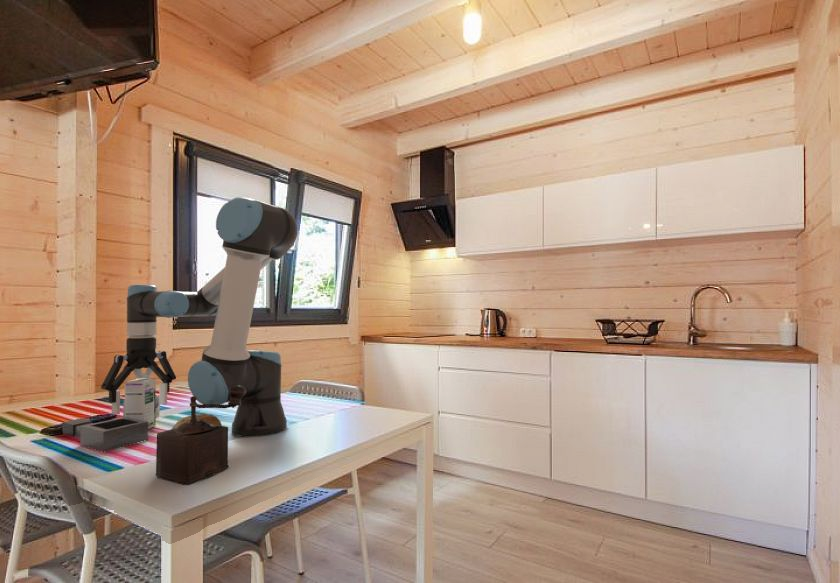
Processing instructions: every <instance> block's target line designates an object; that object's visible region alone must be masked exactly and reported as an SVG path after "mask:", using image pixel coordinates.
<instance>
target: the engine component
mask: <svg viewBox="0 0 840 583" xmlns="http://www.w3.org/2000/svg"><path fill="white" fill-rule="evenodd" d="M142 369H143V368H141V369H135V370H134V371H132V373H133V374H134V376H135V377H136V379H140V378H151V376H152V375H153V374H154V372H153V371H152V370H151V369H150V368H149V367H148V368H146V370H145V372H144V373H143V370H142ZM122 404H123V405H122V409H123V410H122V414H123V415H122V417H125V399H124V400H123V403H122ZM160 405H161V404H159V395H158V394H156V419H158V418H159V417H160V411H161V410H160V409H161V408H160V407H161V406H160ZM157 417H158V418H157Z"/></svg>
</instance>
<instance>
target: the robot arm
mask: <svg viewBox="0 0 840 583" xmlns="http://www.w3.org/2000/svg"><path fill="white" fill-rule="evenodd" d="M215 228H216V232H217V234H218V237H219V238H220V239H222V240H223V242H222V246H221V247H222V249H223V250H224V252H225V254H226V261H225V266H224V267H223V268H222V269H221V270H220V271H219V272H218V273H216V274H215V275H214V277H212V278H211V279H210V280H209V281H208V282H207V283H206V284H205V285H203V286H202V287H201V288H200V289H199V290H198V291H177V290H166V291H165V290H163V291H161V290H160V291H159V290H158V287H157V285H153V284H131V285H128V288H127V296H126V336H127V338H126V348H125V349H126V354H125V355H122V354H121V355H120V354H115V356H114V358H113V363H112V365H111V367H110V369H109V371H108V373H107V375H106V376H105V379H104V380H103V382H102V384H101V386H100V388H101V390H105V391H108V402H109V403H111V414H113V415H120V412H121V390H119V388H120V387H121V386H122V384H123V383H125V382H126V379H127V378H128V377H129V376H130V374H131V373H133V371H134V370H135V369H147V368H148V367H149V368H150V369H151V370H152V371H153V374H154V375H156V376H157V377H158V379H160V380H161V382H159V404H160V405H162V406H163V405H164V406H166V405H168V393H170V385H171V383H172V382H173V381H174V380H176V379H177V377H176V374H175V372H174V370H173V368H172V366H171V364H170V361H169V360H168V357H167V352H166V351H164V350H158V351H156V349H157V338H156V337H155V336H157V320H158V319H157V318H168V319H170V318H180V317H182V318H183V317H184V318H185V317H211V316H215V320H214V325H213V331H212V337H211V343H210V345H208V346H206V347H205V348H204V349H203V350H202V355H201V360H197V361H196V362H194V363H193V365H191V366H190V368H189V370H188V373H187V384H188V388H189V391H190V392H191V395H192V396H195V397H196V398H197V399H196V402H198V403H199V404H200V405H203V404H220V405H225V403H228V402H229V401H230V395H229V393H228V389H229V388H230V387H231V386H233V385H239V386H243V387H244V388H245V389H246V394H245V395H244V396H243V397H242V399H241V400H240V402H241V405H240V406H237V409H236V411H235V415H234V418H233V421H232V423H231V433H232V434H233V435H234V436H238V437H262V436H269V435H274V434H278V433H280V432H283V431H285V430H286V429H287V427H288V424H287V421H288V420H287V417H286V416H285V411H284V407H283V405H282V400H281V398H282V397H281V396H282V394H281V393H282V391H281V390H282V359H281V357H282V356H281V355H280V353H279V352H278V351H269V350H268V351H267V350H266V351H265V350H251V349H250V350H248V349H247V343H248V338H249V334H250V333H249V332H250V326H251V322H252V316H253V311H254V306H255V300H256V296H257V290H258V285H259V279H260V274H261V271H262V270H263V269H264V268H265V267H266V266H268V265H269V264H270V263H271V262H272V261H274V260H275V261H276V260H277V261H278V260H280V259H281V258H282V257H283V256H284V255H286V254H287V253H288V252H289V251H290V249H291V248H292V247H293V246H294V244H295V242H296V240H297V239H298V231H299V229H298V223H297V221H296V219H295V217H294V215H292V213H291V212H290V211H289V210H287V209H285V208H283V207H281V206H278V205H277V206H276V205H273V204H270V203H267V202H263V201H260V200H257V199H253V198H248V197H240V196H239V197H234V198H231V199H229V200H228V201H227V202H226V203H224V204H223V205H222V206H221V208H220V209H219V211H218V213H217V217H216V220H215ZM156 358H157V359H158V361H159V363H160V365H161V367H159V365H158V363H157V362H156V361H155V360H156ZM125 362H127V363H126V364H125V365H124V366H123V363H125ZM122 366H123V369H122V370H121V368H122ZM120 370H121V372H120ZM119 372H120V373H119Z"/></svg>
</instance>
